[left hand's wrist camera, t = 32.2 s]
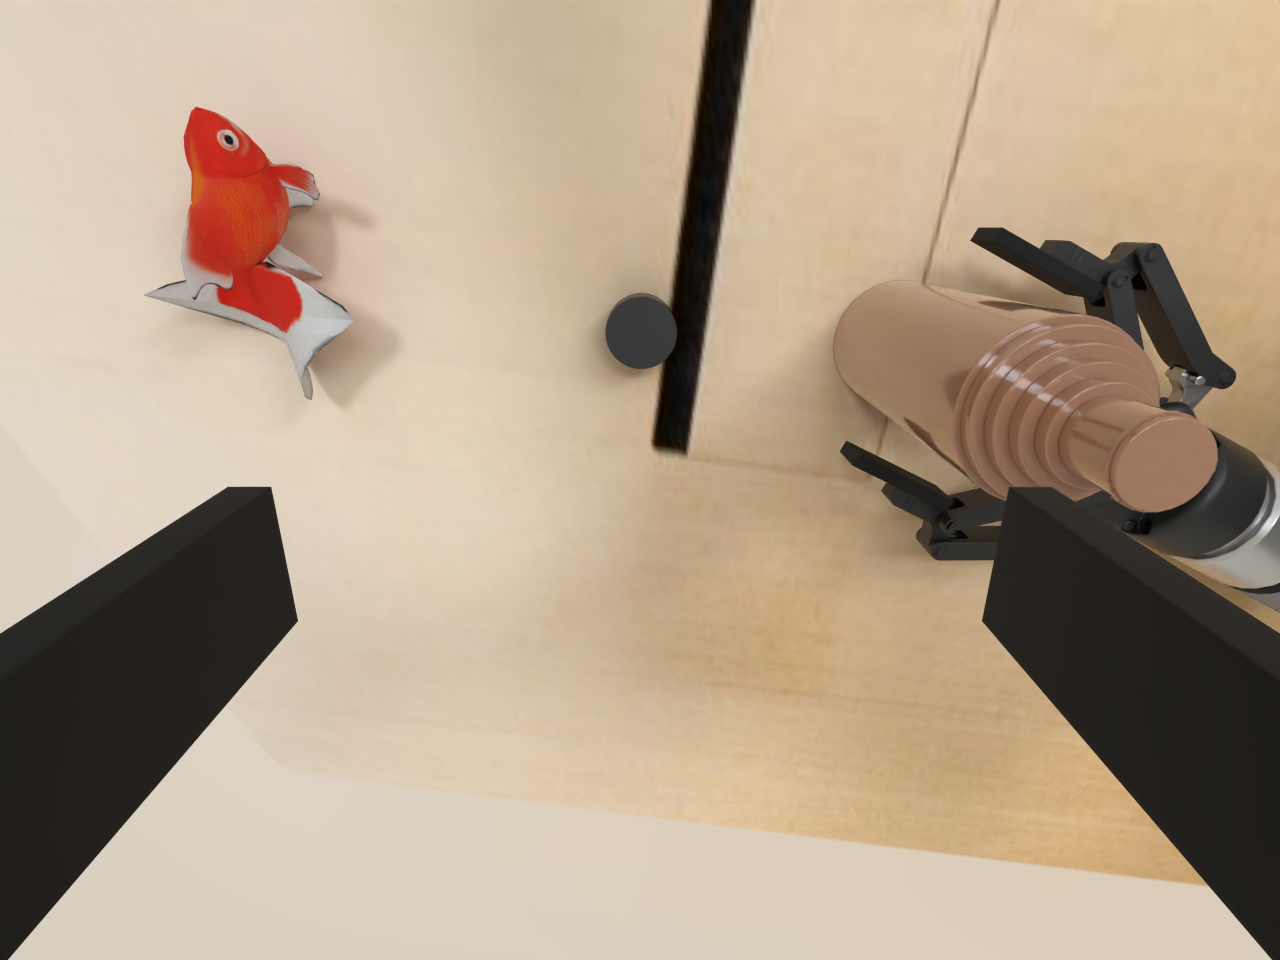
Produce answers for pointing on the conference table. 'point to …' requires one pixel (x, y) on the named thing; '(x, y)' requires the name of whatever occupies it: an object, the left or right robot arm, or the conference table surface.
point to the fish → (249, 243)
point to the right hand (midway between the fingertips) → (913, 349)
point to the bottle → (1022, 395)
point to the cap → (641, 331)
